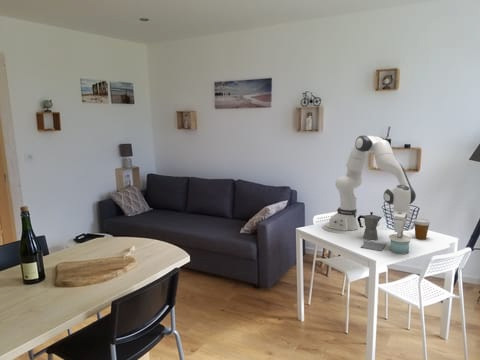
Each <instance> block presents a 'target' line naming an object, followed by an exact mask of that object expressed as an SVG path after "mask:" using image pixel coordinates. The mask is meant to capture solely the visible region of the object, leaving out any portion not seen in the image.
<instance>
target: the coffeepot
mask: <svg viewBox="0 0 480 360" xmlns="http://www.w3.org/2000/svg"><path fill="white" fill-rule="evenodd" d="M373 213H374V212H373V211H370V214H365V215H363V214H362V215H358V216H357V217H356V220H357V223H358V225H359V227H360V228H364V226H365V229H364V232H363V239H364V240H365V241H370V240H375V241H377V240H378V238H379V237H378V229H377V227H378V223H379V222H380V220H381V219H383V216H379V215H376V214H373ZM361 219H363V220H364V221H363V222H364V225H362V223H361V221H362V220H361Z"/></svg>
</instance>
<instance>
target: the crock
mask: <svg viewBox="0 0 480 360" xmlns="http://www.w3.org/2000/svg"><path fill="white" fill-rule="evenodd" d="M389 240H390V249H389V250H390V251H391V252H392V253H395V254H398V255H407V254H409V252H410V242H411V240H410V241H409V242H396V241H393V240H391V239H389Z"/></svg>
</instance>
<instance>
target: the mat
mask: <svg viewBox="0 0 480 360" xmlns="http://www.w3.org/2000/svg"><path fill="white" fill-rule="evenodd" d="M384 246H385V247H386V243H380V242H374V241H369V240H365V242H363V244H362V245H361V246H360V249H361V248H362V249H365V250H370V251H372V250H373V251H378V252H382V251H383V250H384V249H385V247H384Z"/></svg>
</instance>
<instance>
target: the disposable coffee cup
mask: <svg viewBox="0 0 480 360" xmlns="http://www.w3.org/2000/svg"><path fill="white" fill-rule="evenodd" d="M413 223H414V235H415V237H414V238H416V240H421V241H422V240H427V235H428V231H429V227H430V224H431V223H430V220H428V219H425V218H415V219H414V220H413Z"/></svg>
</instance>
